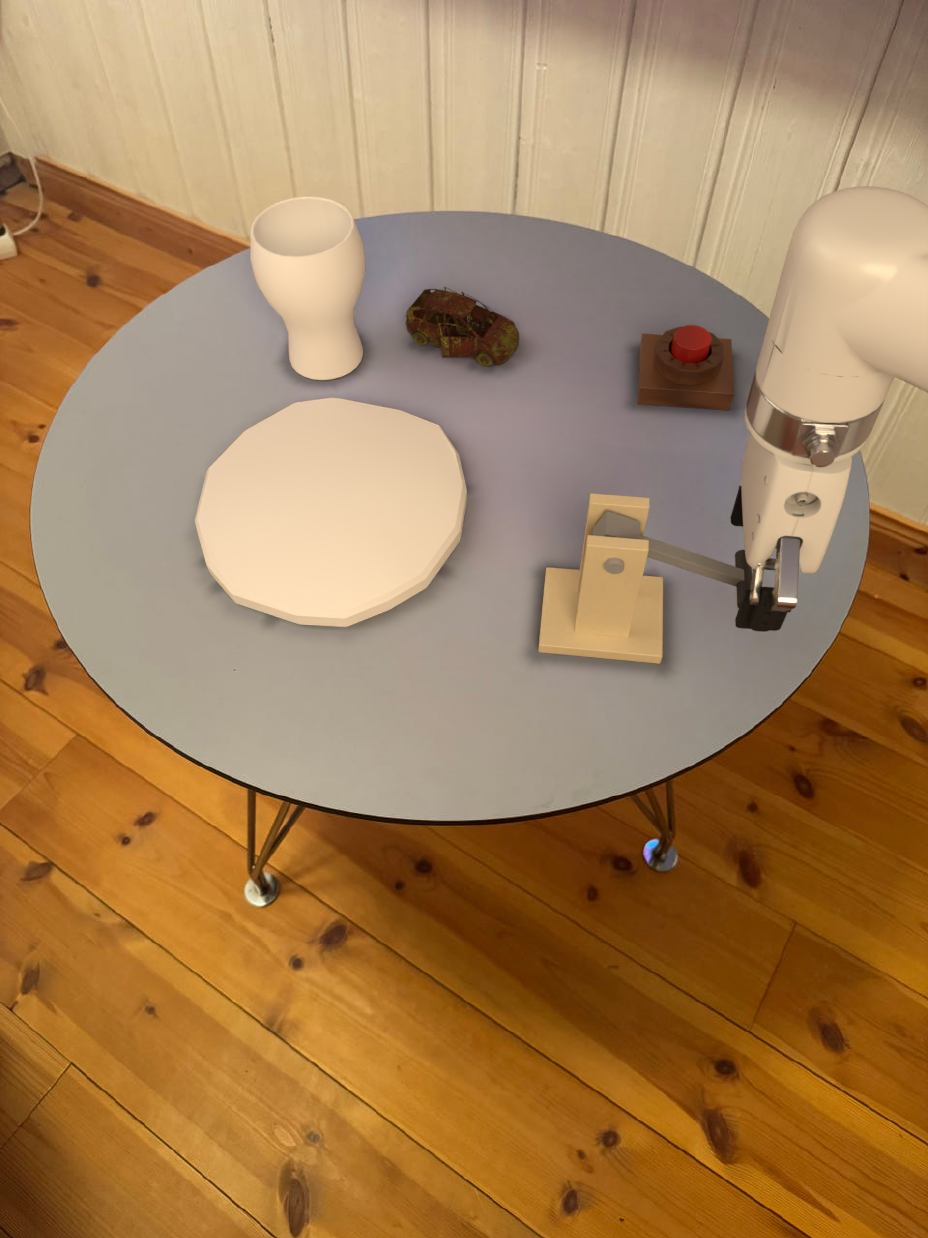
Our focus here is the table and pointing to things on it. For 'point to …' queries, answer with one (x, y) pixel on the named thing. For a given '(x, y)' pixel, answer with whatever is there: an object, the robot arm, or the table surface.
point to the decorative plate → (331, 511)
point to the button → (691, 344)
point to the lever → (680, 554)
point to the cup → (312, 280)
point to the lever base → (606, 594)
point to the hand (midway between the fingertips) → (753, 573)
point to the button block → (685, 375)
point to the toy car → (461, 327)
